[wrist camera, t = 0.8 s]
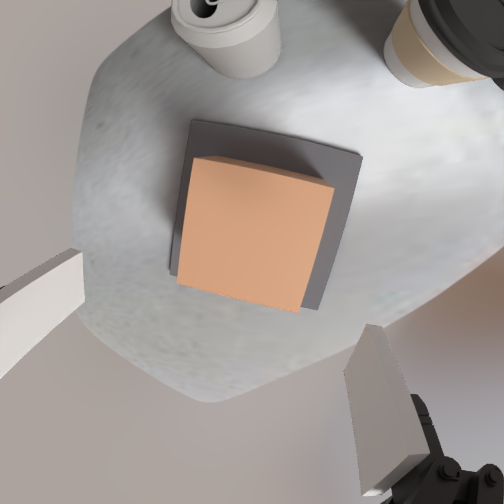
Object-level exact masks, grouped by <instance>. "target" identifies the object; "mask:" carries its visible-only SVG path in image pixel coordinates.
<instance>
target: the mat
mask: <svg viewBox="0 0 504 504" xmlns="http://www.w3.org/2000/svg"><path fill="white" fill-rule="evenodd" d="M206 156H222V157H227V158H232V159H237V160H243V161H247V162H252V163H257V164H262V165H267V166H271V167H276V168H280V169H284V170H289V171H293V172H297V173H301V174H305V175H309V176H313V177H317V178H321V179H324V180H325V181H327V182H328V183H329V184H330V185H331V186H332V187H333V188H335V189H334V193H333V197H332V201H331V204H330V208H329V212H328V216H327V219H326V223H325V227H324V230H323V234H322V237H321V241H320V244H319V248H318V251H317V255H316V258H315V261H314V265H313V268H312V271H311V275H310V278H309V281H308V284H307V287H306V291H305V294H304V297H303V300H302V303H301V306H300V307H304V308H309V309H313V310H318V307H319V305H320V302H321V299H322V296H323V293H324V290H325V287H326V284H327V281H328V278H329V275H330V272H331V269H332V266H333V263H334V260H335V257H336V253H337V250H338V247H339V244H340V240H341V237H342V234H343V230H344V227H345V224H346V220H347V217H348V213H349V209H350V206H351V202H352V198H353V195H354V191H355V187H356V183H357V179H358V175H359V171H360V167H361V163H362V159H363V157H362V156H359V155H356V154H353V153H349V152H346V151H342V150H339V149H335V148H332V147H328V146H324V145H320V144H317V143H313V142H309V141H305V140H301V139H296V138H292V137H288V136H283V135H279V134H274V133H269V132H264V131H259V130H254V129H249V128H243V127H237V126H231V125H225V124H219V123H212V122H205V121H198V120H192V122H191V127H190V132H189V138H188V143H187V149H186V154H185V160H184V166H183V172H182V179H181V185H180V192H179V199H178V206H177V214H176V221H175V230H174V238H173V247H172V257H171V267H170V274H171V275H174V276H178V266H179V257H180V249H181V241H182V233H183V225H184V218H185V210H186V203H187V197H188V190H189V184H190V178H191V172H192V166H193V160H194V158H196V157H206Z"/></svg>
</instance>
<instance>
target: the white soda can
mask: <svg viewBox="0 0 504 504" xmlns="http://www.w3.org/2000/svg"><path fill="white" fill-rule="evenodd" d="M171 23H172V25H173V27H174V30H175V32H176V33H177V34H178V35H179V36H180V37H181V38H182V39H184V40H185V41H186V42H187V43H188V44H189V45H190V46H191V47H192V48H193V49H194V50H195V51H196V52H198V53H199V54H200V55H201V56H202V57H203V58H204V59H205V60H206V61H207V62H208V63H209V64H210V65H211V66H212V67H213V68H214V69H215V70H216V71H217V72H219V73H221V74H223V75H225V76H227V77H230V78H236V79H245V78H253V77H255V76H258V75H261V74H263V73H265V72H266V71H267V70H269V69H270V68H271V67H273V65H274V64H275V63H276V61H277V60H278V58H279V56H280V53H281V49H282V43H281V34H280V25H279V16H278V8H277V0H172V8H171Z"/></svg>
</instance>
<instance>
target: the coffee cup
mask: <svg viewBox="0 0 504 504" xmlns="http://www.w3.org/2000/svg"><path fill="white" fill-rule="evenodd" d="M383 54H384V59H385V62H386V64H387V66H388V68H389V70H390V71H391V73H392V74H393V75H394V76H395V77H396V78H397V79H398V80H399V81H401V82H402V83H404V84H405V85H408V86H410V87H413V88H427V87H431V86H443V85H449V84H455V83H461V82H468V81H475V80H482V79H485V78H487V77H491V78H502V77H504V0H408V1H407V3H406V5H405V6H404V8H403V10H402V12H401V13H400V15H399V17H398V19H397V20H396V22H395V24H394V26H393V29H392V32H391V33H390V35H389V36H388V38H387V40H386V41H385V44H384V49H383Z"/></svg>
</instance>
